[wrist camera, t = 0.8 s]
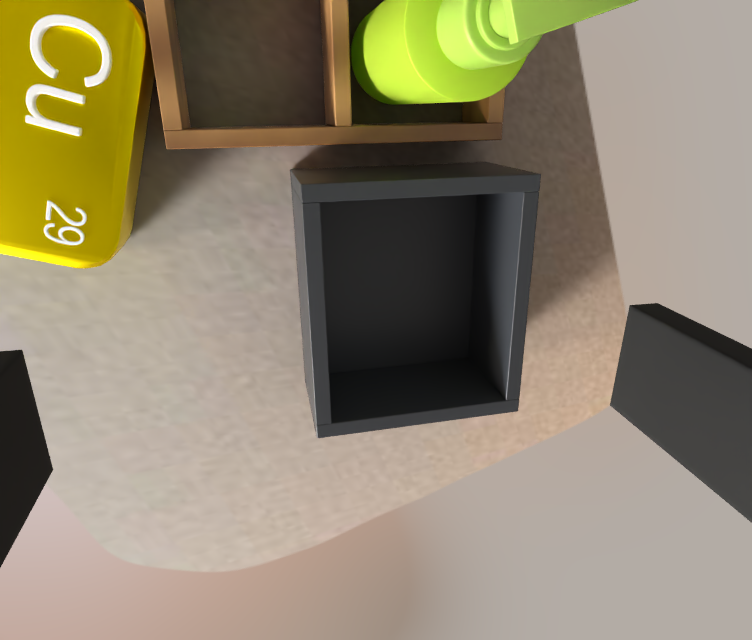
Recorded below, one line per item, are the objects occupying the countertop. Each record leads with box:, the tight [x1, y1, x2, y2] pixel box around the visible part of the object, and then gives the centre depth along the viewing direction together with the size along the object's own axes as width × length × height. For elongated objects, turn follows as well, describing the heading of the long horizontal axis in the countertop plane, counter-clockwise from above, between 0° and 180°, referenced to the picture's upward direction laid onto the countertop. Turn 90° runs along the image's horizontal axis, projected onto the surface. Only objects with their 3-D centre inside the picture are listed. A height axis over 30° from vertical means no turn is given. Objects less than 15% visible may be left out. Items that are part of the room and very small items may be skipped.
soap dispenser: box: [351, 0, 638, 105], centre depth 26 cm, size 6×7×20 cm
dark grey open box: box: [290, 162, 541, 438], centre depth 36 cm, size 16×14×8 cm
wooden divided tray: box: [144, 0, 505, 149], centre depth 32 cm, size 10×20×4 cm, turn 91°
